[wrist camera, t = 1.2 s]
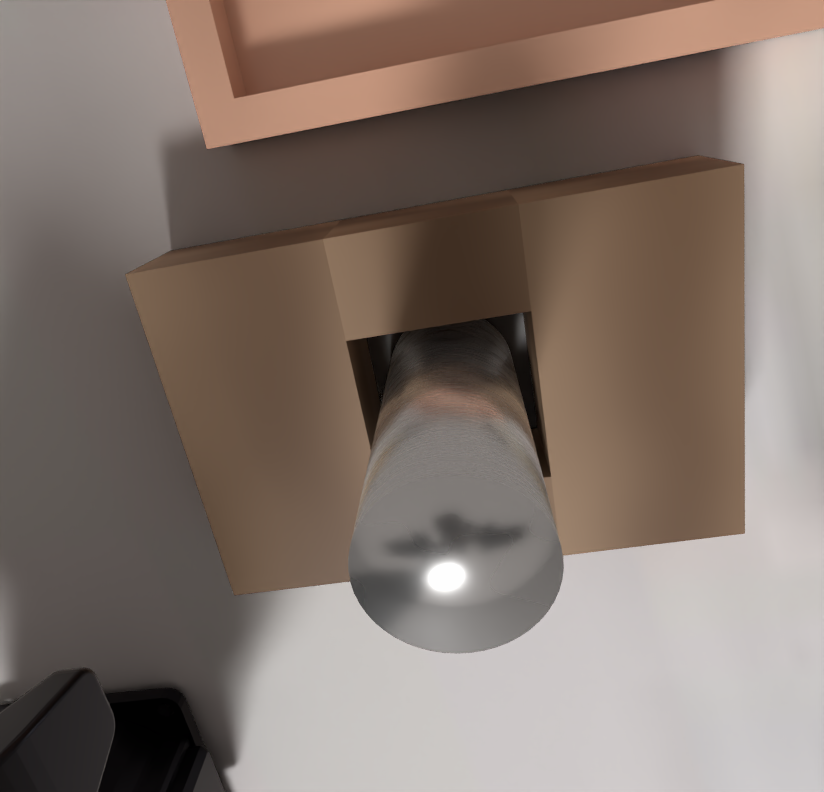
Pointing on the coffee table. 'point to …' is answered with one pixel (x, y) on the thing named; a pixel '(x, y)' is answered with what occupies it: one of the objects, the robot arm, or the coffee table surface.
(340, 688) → the coffee table surface
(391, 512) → the metal pin
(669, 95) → the coffee table surface
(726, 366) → the clamp block
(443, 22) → the terracotta dish
